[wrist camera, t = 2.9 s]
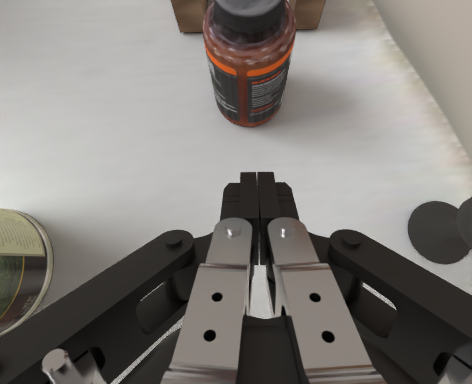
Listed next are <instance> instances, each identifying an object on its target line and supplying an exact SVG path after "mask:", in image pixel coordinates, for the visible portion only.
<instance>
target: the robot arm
mask: <svg viewBox="0 0 472 384" xmlns="http://www.w3.org/2000/svg"><path fill="white" fill-rule="evenodd" d="M259 253H260V265H266V285H267V291H268V297H269V303H270V309H271V315H272V318H270V319H260V318H256V317H252V316H250V308H251V295H252V277H253V275H254V265H258V262H259ZM161 283H163V284H162V285H161V286H160V287H158V286H159V285H160V284H161ZM363 283H366V284H367V285H369V286H370V287H371V288H373V289H374V290H376V291H377V292H379V293H380V294H382V295H383V296H384V297H386V298H387V299H389V300H390V301H391V302H392V303H393V304H394V306H395V307H396V309H397V311H396V310H395V309H394V308H392V307H391V306H389V305H388V304H387V303H385V302H384V301H382V300H381V299H379V298H378V297H377V296H375V295H374V294H372V293H371V292H370V291H368V290H367V289H365V288H364V287H363ZM156 287H158V288H157V289H156V290H155V291H153V292H152V293H151V294H149V293H150V292H151V291H152V290H154V289H155V288H156ZM147 294H149V295H148V296H147V297H146V298H144V299H143V300H142V301H140V300H141V299H142V298H143V297H145V296H146V295H147ZM184 315H185V316H184ZM183 316H184V320H183V323H182V327H181V328H179V329H177V330H176V331H174V332H173V333H171V334H170V335H168V336H167V337H166V338H165V339H163V340H162V341H161V342H160V343H159V344H158V345H157V346H156V347H155V348H154V349H153V350H152V351H151V352H150V353H149V354H148V355H147V356H146V357H145V358H144V359H143V360H142V361H141V362H140V363H139V364H138V365H137V366H136V367H135V368H134V369H133V370H132V371H131V372H130V373H129V374H128V375H127V376H126V377H125V378H124V379H123V380H122V381H121V382H120V383H119V384H472V295H470V294H468V293H466V292H465V291H463V290H461V289H459V288H458V287H456V286H454V285H452V284H451V283H449V282H447V281H445V280H443V279H442V278H440V277H438V276H436V275H435V274H433V273H431V272H429V271H428V270H426V269H424V268H422V267H420V266H419V265H417V264H415V263H413V262H412V261H410V260H408V259H406V258H405V257H403V256H401V255H399V254H398V253H396V252H394V251H392V250H390V249H389V248H387V247H385V246H383V245H382V244H380V243H378V242H376V241H375V240H373V239H371V238H369V237H367V236H366V235H364V234H362V233H360V232H357V231H354V230H347V229H343V230H338V231H335V232H334V233H332V235H331V236H330V238H326V237H322V236H318V235H314V234H312V233H310V232H308V231H307V229H306V227H305V225H304V224H303V223H302V222H300V221H299V217H298V213H297V209H296V205H295V202H294V197H293V193H292V189H291V188H290V187H289V186H288V185H287V184H286V183H285V182H275V178H274V173H273V172H257V177H256V172H241V174H240V183H229V184H228V185H227V186H226V187H225V188H224V192H223V200H222V208H221V216H220V222H219V223H218V224H217V225H216V226H215V229H214V232H212V233H210V234H208V235H206V236H203V237H198V238H193V236H192V235H191V234H190V233H189V232H187V231H184V230H171V231H168V232H165V233H163V234H161V235H160V236H158V237H157V238H155V239H153V240H152V241H150V242H149V243H147V244H146V245H144V246H142V247H141V248H139V249H138V250H136V251H135V252H133V253H131V254H130V255H128V256H127V257H125V258H124V259H122V260H121V261H119V262H117V263H116V264H114V265H113V266H111V267H110V268H108V269H106V270H105V271H103V272H102V273H100V274H99V275H97V276H95V277H94V278H92V279H91V280H89V281H88V282H86V283H84V284H83V285H81V286H80V287H78V288H77V289H75V290H73V291H72V292H70V293H69V294H67V295H66V296H64V297H62V298H61V299H59V300H58V301H56V302H55V303H53V304H52V305H50V306H48V307H47V308H45V309H44V310H42V311H41V312H39V313H37V314H36V315H34V316H33V317H31V318H30V319H28V320H26V321H25V322H23V323H22V324H20V325H19V326H17V327H15V328H14V329H12V330H11V331H9V332H8V333H6V334H4V335H3V336H1V337H0V384H110V383H111V382H112V381H113V380H114V379H116V378H117V377H118V376H119V375H120V374H121V373H122V372H123V371H124V370H125V369H126V368H128V367H129V366H130V365H131V364H132V363H133V362H134V361H135V360H136V359H137V358H138V357H139V356H141V355H142V354H143V353H144V352H145V351H146V350H147V349H148V348H149V347H150V346H151V345H153V344H154V343H155V342H156V341H157V340H158V339H159V338H160V337H161V336H162V335H163V334H165V333H166V332H167V331H168V330H169V329H170V328H171V327H172V326H173V325H174V324H175V323H177V322H178V321H179V320H180V319H181V318H182V317H183Z"/></svg>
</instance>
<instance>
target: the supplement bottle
mask: <svg viewBox="0 0 472 384" xmlns="http://www.w3.org/2000/svg"><path fill="white" fill-rule="evenodd" d="M295 34H296V20H295V15H294V12H293V10H292V7H291V6H290V4H289V2H288V1H287V0H214V1H213V2H212V3H211V5H210V6H209V8H208V9H207V11H206V14H205V17H204V21H203V38H204V43H205V48H206V54H207V59H208V63H209V68H210V73H211V78H212V83H213V88H214V93H215V98H216V101H217V105H218V108H219V110H220V111H221V113H222V114H223V115H224V117H225V118H227V119H228V120H229V121H231V122H233V123H235V124H237V125H241V126H250V127H251V126H257V125H260V124H263V123H265V122H267V121H268V120H270V119H271V118H272V117H273V116H274V115H275V114H276V113H277V111H278V110H279V107H280V105H281V102H282V99H283V94H284V89H285V85H286V80H287V74H288V70H289V65H290V60H291V55H292V50H293V45H294V39H295Z"/></svg>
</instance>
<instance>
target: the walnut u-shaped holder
mask: <svg viewBox="0 0 472 384" xmlns="http://www.w3.org/2000/svg"><path fill="white" fill-rule="evenodd" d="M325 1H326V0H289V4H290V6H291V7H292V10H293V12H294V15H295V20H296V29H317V28H318V24H319V21H320V18H321V15H322V11H323V8H324V5H325ZM171 3H172V6H173V10H174V13H175V16H176V20H177V23H178V27H179V30H180V32H203V21H204V17H205V14H206V11H207V0H171Z"/></svg>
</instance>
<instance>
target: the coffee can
mask: <svg viewBox="0 0 472 384" xmlns="http://www.w3.org/2000/svg"><path fill="white" fill-rule="evenodd" d="M52 270H53V252H52V247H51V244H50V241H49V238H48V236H47V234H46V233H45V231H44V230H43V228H42V227H41V226H40V225H39V224H38V223H37V222H36V221H35V220H34V219H33V218H32V217H30V216H28V215H26V214H24V213H22V212H19V211H16V210H11V209H1V208H0V335H2V334H4V333H6V332H8V331H10V330H12V329H14V328H15V327H17V326H18V325H20V324H21V323H22V322H23V321H25V320H26V319H27V318H28V317H29V316H30V315H31V314H32V313H33V312H34V311H35V309H36V308H37V307H38V305H39V304H40V302H41V301H42V299H43V297H44V295H45V293H46V291H47V289H48V286H49V283H50V280H51V276H52Z"/></svg>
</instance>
